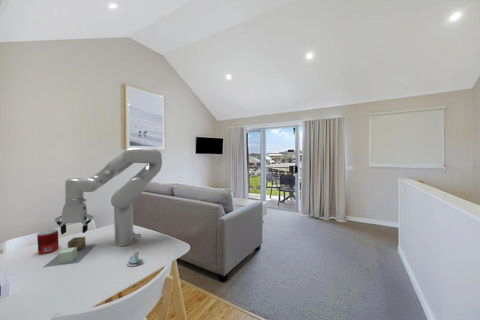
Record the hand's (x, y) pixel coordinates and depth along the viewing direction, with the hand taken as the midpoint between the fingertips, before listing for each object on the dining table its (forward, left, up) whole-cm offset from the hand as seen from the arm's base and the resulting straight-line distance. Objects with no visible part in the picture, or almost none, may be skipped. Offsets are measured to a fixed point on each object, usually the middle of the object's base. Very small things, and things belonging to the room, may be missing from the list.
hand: (74, 232), depth 108 cm
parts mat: (-2, +6, -10) cm, 11 cm away
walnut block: (-1, 0, -9) cm, 9 cm away
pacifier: (-35, +23, -10) cm, 43 cm away
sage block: (-3, +12, -9) cm, 15 cm away
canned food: (+13, -2, -10) cm, 16 cm away
